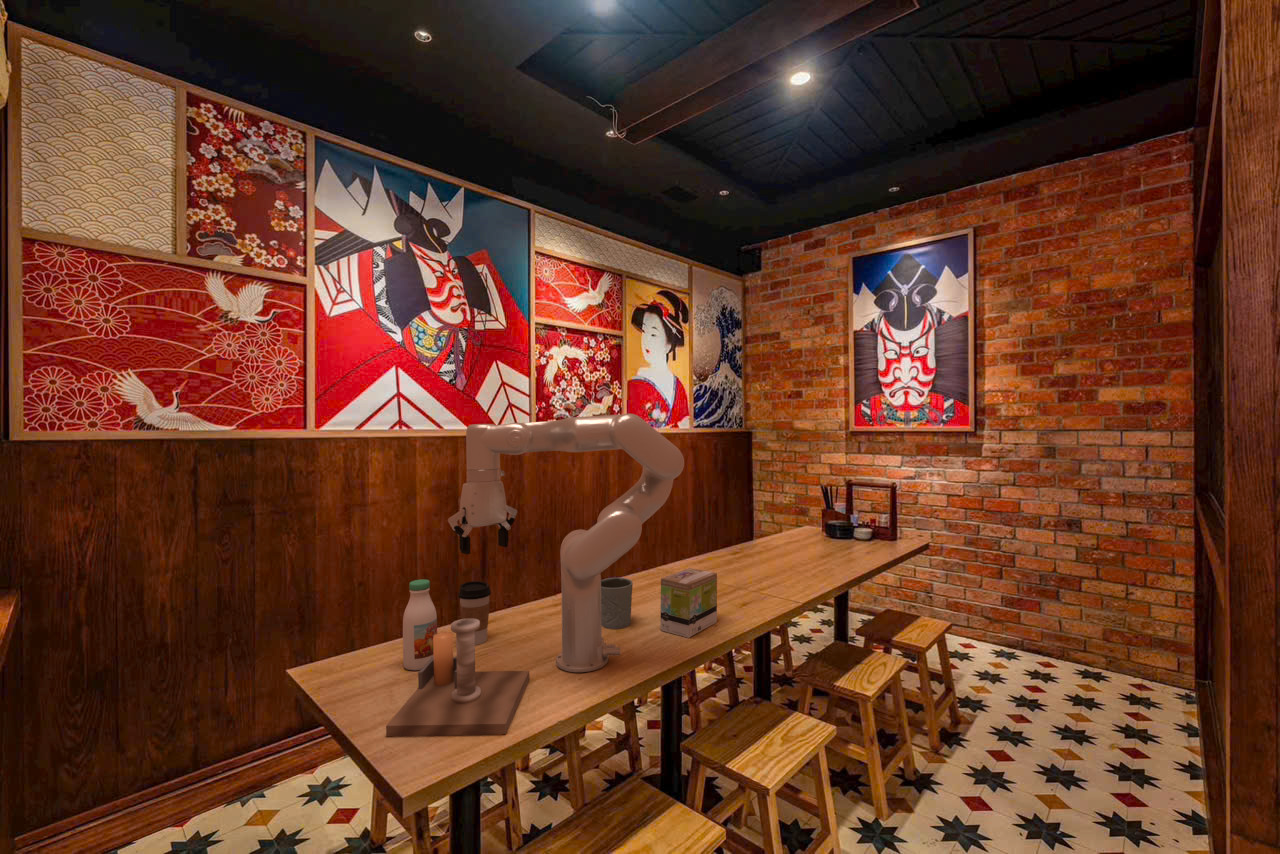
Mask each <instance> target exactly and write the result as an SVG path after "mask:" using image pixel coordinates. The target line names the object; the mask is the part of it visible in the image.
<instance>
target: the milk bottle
mask: <svg viewBox="0 0 1280 854" xmlns="http://www.w3.org/2000/svg"><path fill="white" fill-rule="evenodd" d="M408 585H409V591H408V592H409V593H410V596H409V599H408V603H407V604H406V607H405V609H404V612H403V615H402V616H403V618H402V662H403V668H404V669H406V670H409V671H420V670H421V669H422V668H423V667H424V666H425V664H426V663H427V662H428V661H429V660H430V659H431V658H432V657H434V655H433V636H434V635H435V634H437V633H438V618H437V617H438V616H437V610H436V607H435V605H434V602H433V600H432V598H431V595H430V590H431V589H430V586H431V582H430V580H429V579H415V580H412V581H410V582H409V584H408Z"/></svg>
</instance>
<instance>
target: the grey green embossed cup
mask: <svg viewBox="0 0 1280 854" xmlns="http://www.w3.org/2000/svg"><path fill="white" fill-rule="evenodd" d="M633 583H634V582H633V580H632V579H629V578H625V577H610V578H609V577H607V578H604V579H601V627H603V628H604V629H605V628H606V629H608V630H620V629H625V627H626V628H628V627H629V626H631V622H632V621H631V620H632V615H631V614H632V603H633V602H632V600H633V598H632V596H633V587H634V586H633Z"/></svg>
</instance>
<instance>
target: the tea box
mask: <svg viewBox="0 0 1280 854" xmlns="http://www.w3.org/2000/svg"><path fill="white" fill-rule="evenodd" d="M659 621H660V626H659V627H660V628H659V629H660V631H662V632H666V633H668V634H671V635H677V636H679V637H684V638H686V639H687V638H688V639H690V638H692V637H693V636H694V635H696V634H698V633H700V632H702V631H703V630H705V629H707V628H709V627H711V626H712V625H715V624H717V621H718V573H717V572H715V571H709V570H704V569H703V570H702V569H697V568H691V567H688V568H686V569H683V570H680V571H677V572H675V573H672V574H670V575H666V576H664V577H661V578H660V620H659Z"/></svg>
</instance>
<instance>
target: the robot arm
mask: <svg viewBox="0 0 1280 854" xmlns="http://www.w3.org/2000/svg"><path fill="white" fill-rule="evenodd" d="M465 435H466V437H465V438H466V439H465V440H466V441H465V442H466V449H465V450H466V451H465V452H466V482H465V483H463V484H462V489H461V494H460V503H459V511H457V512H456V513H455V514H453V515H452V516H450V517H449V518H448V519H447V522H448V524H449V526H450V527H451V530H452V531H453V532H455V534H456V535H457V536H458V537H459V550H460V553H461V554H464V555H467V556H468V555H470V554H471V537H470V536H469V534H470V532H471V531H472V530H473V528H479V527H480V528H481V527H486V526H492V525H497V526H498V527H499V528H498V530H497V533H498V534H497V536H498V537H497V542H498V543H497V544H498V546H499V547H502V548H507V547H508V546H509V544H508V543H509V530H511V526H512V525H513V524H514V522H515V519H516V517H517V514H518V510H517V509H516V508H514V507H511V506H510V505H507V499H506V491H505V487H504V483H503V481H502V480H501V478H502V477H503V476H505V474H506V473H505V471H504V470H502V469H501V454H504V455H513V456H514V455H515V456H517V455H518V456H519V455H523V454H524V453H533V452H534V453H535V452H552V451H553V452H554V451H557V452H559V451H560V452H566V453H584V452H598V451H612V450H623V451H624V452H625V453H626V454H628V455H629V457H631V458H633V459H634V460H635V461H636V462H637V463H638V464H640V465H641V466H642V472H641V475H640V478H639V480H638V481H637V482H636V483H635V484H634V485H633V486H631V488H629V489H628V490H627V491H625V492H624V493H623V494H622V495H620V496H619V497H618V498H617V499H616V500H614V501H612V502H611V503H610V504H608V505H607V506H605V507H604V508H603V509H602V510H601V511H600V513H599V514H598V517H597V521H596V523H595V524H594V525H593V526H591V527H590V528H589V529H588V530H586V529H575V530H572V531H570V532H569V533H568V534H567V535H565V537H564V538H563V540H562V543H561V545H560V549H559V552H560V559H559V560H560V572H561V573H560V574H561V575H560V577H561V579H560V580H561V582H560V583H561V640H562V641H561V644H562V645H561V647H562V648H561V649H562V651H561V652H559V653H558V654H557V655H556V658H555V664H556V666H557V667H558V668H559V669H561V670H563V671H565V672H569V673H570V672H571V673H588V672H592V671H596V670H599V669H602V668H604V667H605V666H606V665H607V663H608V662H609V656H617V657H618V656H621V646H617V645H616V644H615V643H611V644H610V643H609V644H607V643H605V638H604V637H602V635H603V634H602V630H603V629H602V627H603V626H602V625H601V580H602V576H601V575H602V573H603V572H604V571H605V570H607V569H608V568H609V567H610V566H612V565H613V564H614V563H615V562H616V561H618V560H619V559H621V558H622V557H623V556H624V555H625V554H626V553H628V552H629V551H630V550H631V549H632V548H633V547H634V546H635V545H636V544H637V543H638V541H639V539H640V538H641V534H642V530H643V529H642V527H643V526H642V525H643V524H644V523H645V522H646V521H647V520H648V519H650V518H651V517H652V516H653V515H654V514H655V513H656V512H657V511H658V510H660V509H661V507H663V505H664V504H665V503H666V502H667V500H668V498H669V497H670V494H671V493H672V492H671V491H672V488H673V485H674V480H675V479H676V478H678V477H679V476H680V475H681V473H682V472H683V470H684V467H685V459H684V455H683V453H682V452H681V450H680V449H679V447H677V446H676V445H675V444H674V443H672V442H671V441H670V440H668V438H666V437H665V436H664V435H663V434H661V433H660V432H659V431H658V430H657V429H655V428H654V427H653V426H652V425H650V424H649V423H648V422H647V421H645V420H644V419H643V418H642V417H640V416H639V415H637V414H635V413H623V414H606V415H591V416H590V415H588V416H574V417H567V418H562V419H558V420H556V419H555V420H549V421H535V422H510V423H504V424H502V423H501V424H493V423H477V424H476V423H475V424H473V423H472V424H470V425H468V426H467V427H466V431H465ZM507 513H508V516H507ZM458 521H459V523H460V525H461V526H459V523H458Z"/></svg>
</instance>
